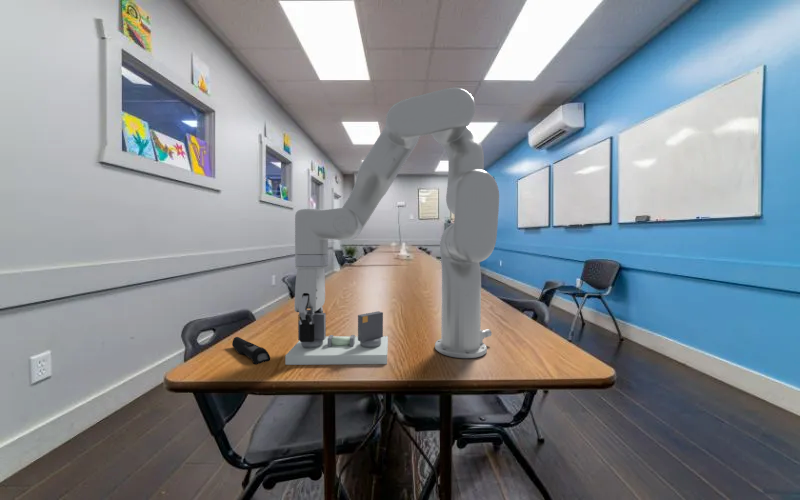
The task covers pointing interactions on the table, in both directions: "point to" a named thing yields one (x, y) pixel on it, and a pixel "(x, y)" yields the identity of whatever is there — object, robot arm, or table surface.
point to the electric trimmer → (251, 350)
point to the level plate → (338, 352)
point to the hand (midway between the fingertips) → (312, 335)
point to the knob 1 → (319, 330)
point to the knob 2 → (370, 329)
